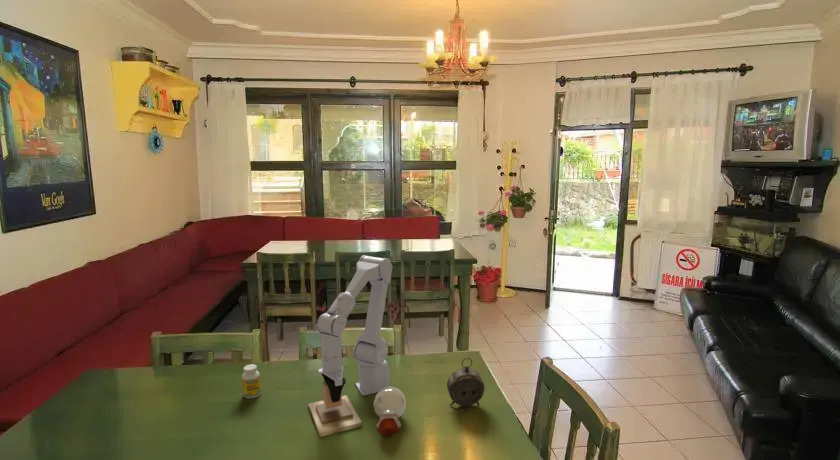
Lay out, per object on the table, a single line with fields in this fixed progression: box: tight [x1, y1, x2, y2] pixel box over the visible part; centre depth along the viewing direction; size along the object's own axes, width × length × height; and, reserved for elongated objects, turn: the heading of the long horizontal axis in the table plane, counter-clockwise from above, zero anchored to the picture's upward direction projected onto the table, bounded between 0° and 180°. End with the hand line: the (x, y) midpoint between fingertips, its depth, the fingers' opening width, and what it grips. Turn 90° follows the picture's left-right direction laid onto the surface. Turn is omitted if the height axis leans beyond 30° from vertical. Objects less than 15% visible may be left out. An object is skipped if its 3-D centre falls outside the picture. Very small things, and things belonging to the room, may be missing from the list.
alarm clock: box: [446, 357, 485, 412], centre depth 141 cm, size 11×5×16 cm, turn 96°
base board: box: [308, 394, 363, 438], centre depth 138 cm, size 12×16×2 cm
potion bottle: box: [373, 385, 407, 439], centre depth 134 cm, size 9×10×15 cm
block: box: [322, 381, 343, 409], centre depth 137 cm, size 4×4×6 cm
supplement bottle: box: [241, 363, 262, 399], centre depth 149 cm, size 5×5×10 cm
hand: (333, 396), depth 137 cm, fingers closed on block, 5 cm apart
